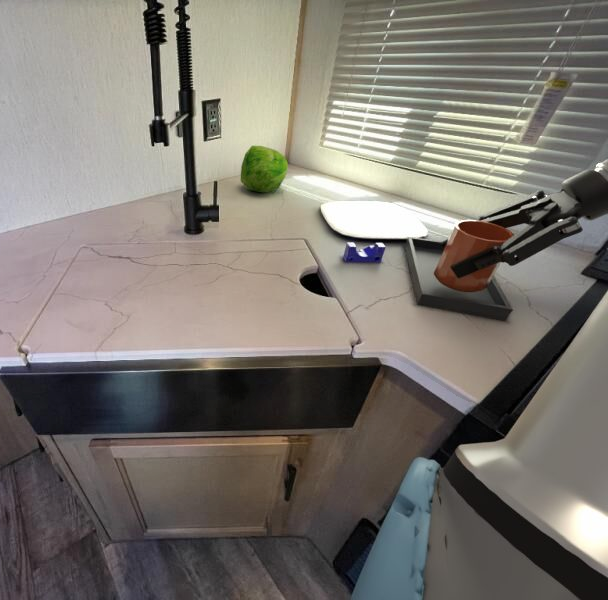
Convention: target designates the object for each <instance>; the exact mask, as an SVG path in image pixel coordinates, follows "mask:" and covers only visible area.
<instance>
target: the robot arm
mask: <svg viewBox="0 0 608 600" xmlns="http://www.w3.org/2000/svg"><path fill="white" fill-rule="evenodd" d="M605 215H608V158H607V159H605V160H603V161H601V162H598V163H597V164H596V165H595V168H594V169H593V168H587V169H585V170H583V171H581V172H579V173H577V174H575V175H573V176H570V177H568V178H567V179H565V180H563V181H562V183H561V190H560V191H558V192H554V193H552V194H548V195H547V194H546V193H545V191H544V189H539V190H537V191H535V192H532V193H531V194H529V195H527V196H526V197H523V198H521V199H519V200H518V199H517V200H515V201H513V202H510V203H509V204H506V205H503V206H501V207H498V208H496V209H493V210H491V211H489V212H485V213H484V214H481V215H479V216H478V217H477V220H478V221H484V222H489V223H493V224H496V225H499V226H502V227H504V228H506V229H509V228H513V227H516V226H521V225H524V224H525V225H526V226H525V227H523V228H522V229H521V230H519V231H518V232H516V233H515V234H514V236H513V237H511V238H510V239H509V240H507V241H506V242H505V243H503V244H502V245H501V246H499V247H497V246H493V247H492V248H489V249H487V250H485V251H483V252H480V253H478V254H476V255H474V256H471V257H469V258H467V259H465V260H463V261H460V262H458V263H456V264H454V265H451V266H450V268H451V269H452V271H453V272H454V274H455V275H456V276H457V278H458V279H459V278H461V277H464V276H466V275H469V274H471V273H473V272H476V271H478V270H481V269H484V268H486V267H489V266H491V265H494V264H496V263H499V262H501V263H506V264H508V266H509V267H514V266H516V265H518V264H520V263H521V262H524V261H525V260H527V259H529V258H531V257H533V256H534V255H536V254H538V253H541V252H542V251H544V250H546V249H548V248H550V247H552V246H553V245H555V244H557V243H559V242H560V241H562V240H564V239H566V238H569V237H572V236H575V235H578V234H580V233H582V232H583V230H584V229H583V227H582V225H581V223H580V222H579V220H580V219H581V218H582V219H584V220H586V221H594V220H596V219H598V218H600V217H603V216H605ZM448 239H449V238H446V239H445V240H442V241H443V242H441V245H442V246H443V248H445V246H446V243H447V241H448ZM492 249H493V250H494V251H493V250H492ZM349 600H608V290H606V291H605V294H604V295H603V296H602V298H601V299H600V300H599V302H598V303H597V305H596V306H595V307H594V309H593V310H592V312H591V314H590V315H589V317H587V319H586V321H585V322H584V324H583V325H582V327H580V330H579V331H578V332H577V334H576V335H575V337H574V338H573V339H572V341H571V343H570V344H569V345H568V347H567V348H566V350H564V352H563V354H562V356H560V358H559V359H558V361H557V362H556V363H555V365H554V366H553V368H552V369H551V371H550V372H549V374H548V375H547V377H546V378H545V380H544V381H543V383H542V384H541V385H540V387H539V388H538V390H537V391H536V393H535V394H534V396H533V397H532V399H531V400H530V401H529V403H528V404H527V406H526V407H525V408H524V409H523V411H522V413H521V414H520V415H519V417H518V419H516V421H515V423H514V425H512V427H511V428H510V430H509V431H508V433H507V434H506V436H505V437H504V438H502V439H499V440H496V441H489V442H488V441H487V442H476V443H466V444H465V443H464V444H459V445H458V446H457V447H456V449H455V450H454V452H453V453H452V454H451V457H450V458H449V459H448V461H447V462H446V464H445V465H444V466H443V467H441V464H440V463H438V462H437V461H436V460H435V459H428V458H425V457H423V456H419V457H416V458H414V460H413V461H412V462H411V464H410V466H409V468H408V470H407V472H406V474H405V475H404V477H403V480H402V482H401V484H400V486H399V490H397V494H396V496H395V497H394V499H393V502H392V504H391V506H390V508H389V510H388V512H387V513H386V516H385V518H384V520H383V522H382V524H381V527H380V528H379V530H378V533H377V535H376V538H375V540H374V542H373V544H372V547H371V549H370V550H369V553H368V556H367V557H366V560H365V562H364V564H363V567H362V569H361V572H360V574H359V576H358V578H357V581H356V583H355V586H354V589H353V591H352V593H351V597H350V599H349Z"/></svg>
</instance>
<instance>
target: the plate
mask: <svg viewBox="0 0 608 600" xmlns="http://www.w3.org/2000/svg"><path fill="white" fill-rule="evenodd" d="M319 209H320V212H321V215H322V216H323V219H324V220H325V222H326V223H327V225H329V227H330V228H331V229H332V231H335V232H336V233H337V234H340V235H342V236H345V237H350V238H354V239H363V240H365V239H366V240H390V241H391V240H392V241H393V240H398V241H399V240H401V241H403V240H407V238H408V237H414V238H421V239H423V238H424V237H427V236H428V232H429V231H428V229H427V228H426V226H425V225H424V224H423V223H422V222H421V221H420V220H419V219H418V218H417V217H416V216H414V215H413V214H412V213H411V212H410V211H408V210H407V209H406V208H404V207H402V206H399V205H397V204H394V203H389V202H384V201H372V200H370V201H369V200H338V201H337V200H336V201H335V200H334V201H329V202H324V203H322V204H321V206H320V208H319Z"/></svg>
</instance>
